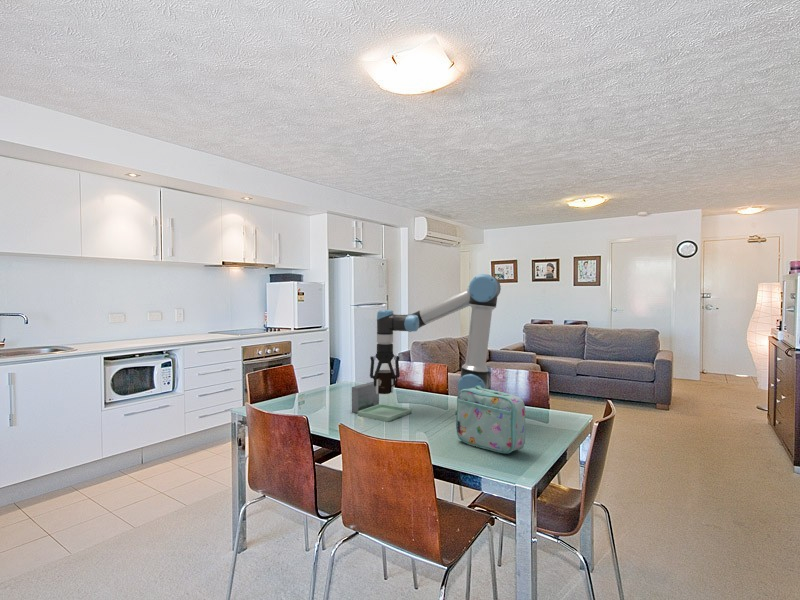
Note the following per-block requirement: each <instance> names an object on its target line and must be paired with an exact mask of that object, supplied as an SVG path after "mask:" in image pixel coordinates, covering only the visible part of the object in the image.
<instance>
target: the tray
mask: <svg viewBox="0 0 800 600" xmlns="http://www.w3.org/2000/svg"><path fill="white" fill-rule="evenodd" d="M410 414H412V409H411V408H406V407H402V406H396V405H390V404H384V403H379V405H376V406H373V407H369V408H366V409H363V410H360V411H358V413H357V416H359V417H363V418H367V419H371V420H372V419H373V420H377V421H381V422H387V423H389V422H392V421H395V420H397V419H400V418H402V417H405V416H408V415H410Z"/></svg>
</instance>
